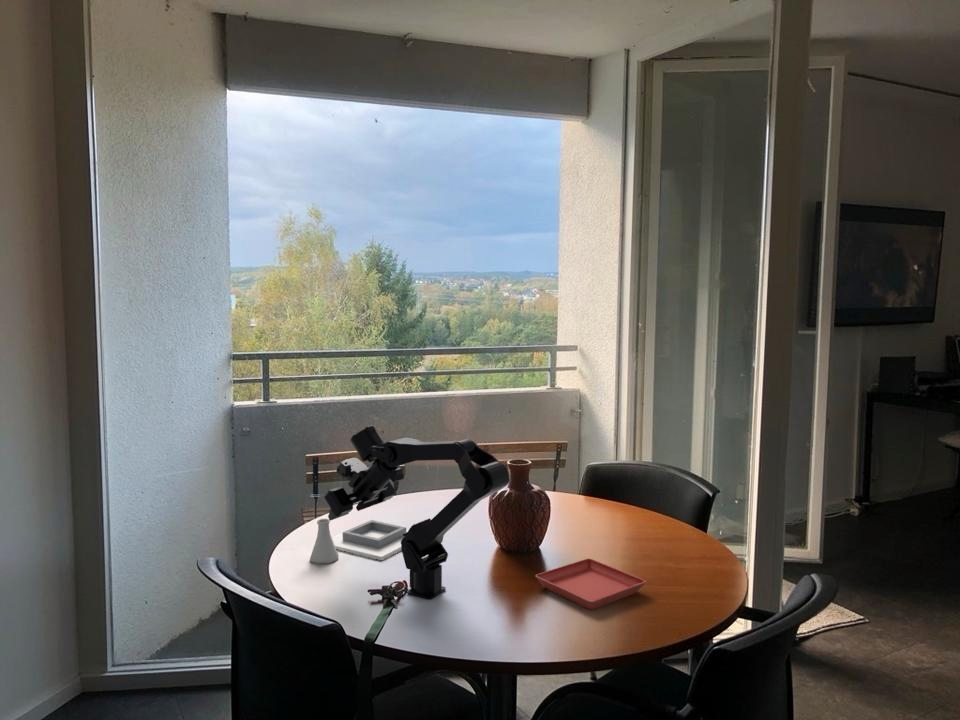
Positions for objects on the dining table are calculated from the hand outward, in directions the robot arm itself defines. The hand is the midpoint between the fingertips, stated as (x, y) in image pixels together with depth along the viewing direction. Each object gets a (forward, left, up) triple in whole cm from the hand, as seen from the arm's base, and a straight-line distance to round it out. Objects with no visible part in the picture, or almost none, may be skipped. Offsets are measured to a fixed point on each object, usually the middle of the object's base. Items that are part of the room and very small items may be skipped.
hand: (343, 513), depth 176 cm
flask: (+7, -1, -13) cm, 15 cm away
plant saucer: (-57, -18, -14) cm, 61 cm away
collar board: (+4, -17, -13) cm, 22 cm away
